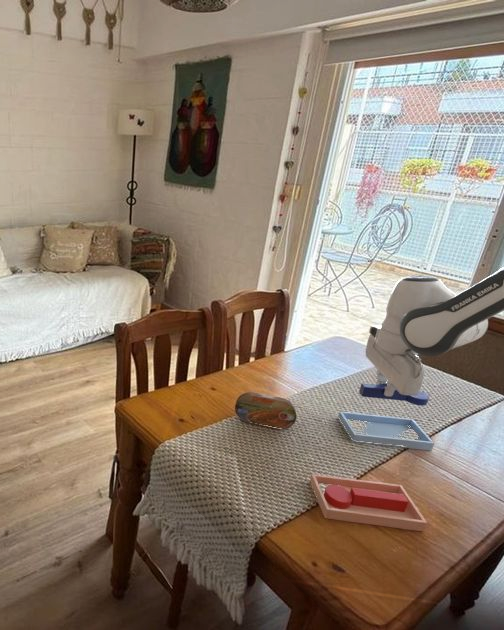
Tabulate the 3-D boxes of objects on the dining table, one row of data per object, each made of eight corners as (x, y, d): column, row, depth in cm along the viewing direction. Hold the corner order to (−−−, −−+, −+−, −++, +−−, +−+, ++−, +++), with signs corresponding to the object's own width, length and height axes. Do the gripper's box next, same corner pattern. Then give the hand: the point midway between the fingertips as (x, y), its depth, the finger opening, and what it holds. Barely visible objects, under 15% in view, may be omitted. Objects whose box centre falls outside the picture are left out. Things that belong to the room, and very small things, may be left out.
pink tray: (398, 493, 95) (401, 484, 94) (423, 531, 86) (427, 523, 85) (309, 481, 98) (311, 473, 97) (324, 518, 88) (327, 509, 87)
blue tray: (410, 426, 117) (412, 418, 116) (431, 450, 108) (434, 443, 107) (337, 418, 120) (339, 411, 119) (352, 442, 111) (354, 434, 110)
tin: (232, 419, 119) (237, 393, 116) (233, 413, 122) (238, 387, 118) (293, 433, 114) (299, 406, 110) (292, 426, 116) (299, 399, 113)
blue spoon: (364, 399, 108) (367, 390, 107) (356, 389, 113) (359, 379, 112) (431, 406, 106) (435, 396, 105) (420, 395, 111) (423, 386, 110)
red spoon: (396, 499, 93) (400, 489, 92) (408, 518, 88) (412, 507, 87) (320, 489, 95) (323, 479, 94) (328, 507, 90) (331, 496, 89)
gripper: (439, 363, 94) (419, 416, 99) (393, 325, 113) (379, 372, 118) (407, 360, 95) (389, 413, 100) (367, 323, 114) (354, 370, 119)
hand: (383, 391), depth 109 cm, fingers closed on blue spoon, 2 cm apart
